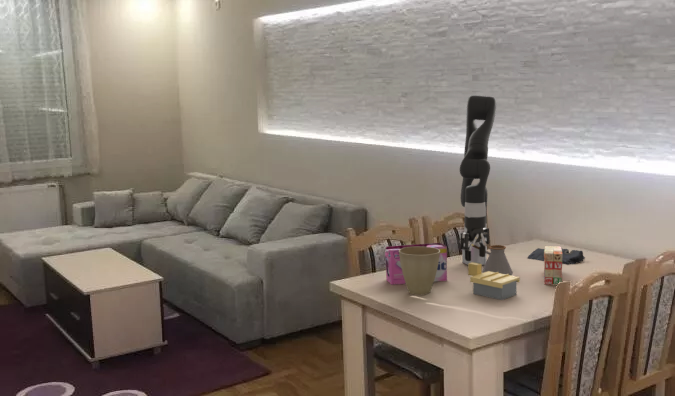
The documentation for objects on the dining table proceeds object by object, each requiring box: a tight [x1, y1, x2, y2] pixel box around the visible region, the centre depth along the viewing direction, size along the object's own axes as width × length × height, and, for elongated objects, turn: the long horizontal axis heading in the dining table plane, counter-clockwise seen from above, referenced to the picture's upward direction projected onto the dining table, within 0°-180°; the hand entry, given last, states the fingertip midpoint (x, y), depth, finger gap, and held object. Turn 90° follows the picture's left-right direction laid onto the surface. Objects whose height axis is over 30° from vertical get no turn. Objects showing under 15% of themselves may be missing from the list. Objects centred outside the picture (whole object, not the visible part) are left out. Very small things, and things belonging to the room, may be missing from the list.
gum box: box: [384, 242, 448, 286], centre depth 277 cm, size 24×8×14 cm, turn 101°
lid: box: [467, 262, 521, 288], centre depth 255 cm, size 17×11×5 cm, turn 43°
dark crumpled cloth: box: [527, 247, 586, 266], centre depth 307 cm, size 15×22×5 cm
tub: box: [472, 280, 518, 301], centre depth 254 cm, size 12×9×6 cm
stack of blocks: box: [543, 245, 563, 285], centre depth 275 cm, size 21×6×12 cm, turn 165°
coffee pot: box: [458, 238, 514, 276], centre depth 278 cm, size 21×12×15 cm, turn 59°
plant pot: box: [399, 246, 440, 296], centre depth 259 cm, size 15×15×16 cm
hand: (475, 258), depth 259 cm, fingers open, 8 cm apart
